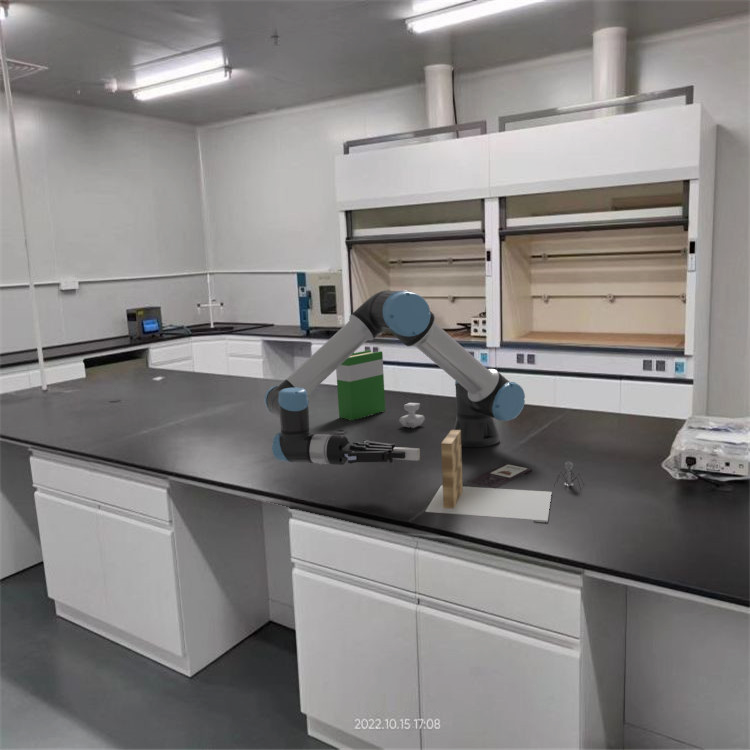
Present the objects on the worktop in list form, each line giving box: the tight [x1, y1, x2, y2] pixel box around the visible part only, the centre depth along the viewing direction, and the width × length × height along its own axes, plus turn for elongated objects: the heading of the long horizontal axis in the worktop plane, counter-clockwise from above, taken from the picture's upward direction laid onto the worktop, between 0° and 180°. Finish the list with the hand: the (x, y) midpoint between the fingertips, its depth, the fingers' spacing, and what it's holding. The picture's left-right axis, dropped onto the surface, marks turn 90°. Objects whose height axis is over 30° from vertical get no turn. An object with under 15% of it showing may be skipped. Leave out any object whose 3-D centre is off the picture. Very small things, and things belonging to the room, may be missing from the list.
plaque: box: [440, 429, 464, 509], centre depth 158 cm, size 12×2×16 cm, turn 162°
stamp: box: [398, 402, 426, 429], centre depth 230 cm, size 9×7×8 cm
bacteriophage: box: [553, 461, 585, 491], centre depth 165 cm, size 7×8×7 cm
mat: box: [424, 484, 553, 523], centre depth 157 cm, size 18×28×1 cm, turn 72°
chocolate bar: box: [467, 463, 533, 489], centre depth 175 cm, size 9×1×18 cm
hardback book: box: [335, 349, 386, 421], centre depth 250 cm, size 18×7×24 cm, turn 134°
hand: (419, 454), depth 160 cm, fingers closed
